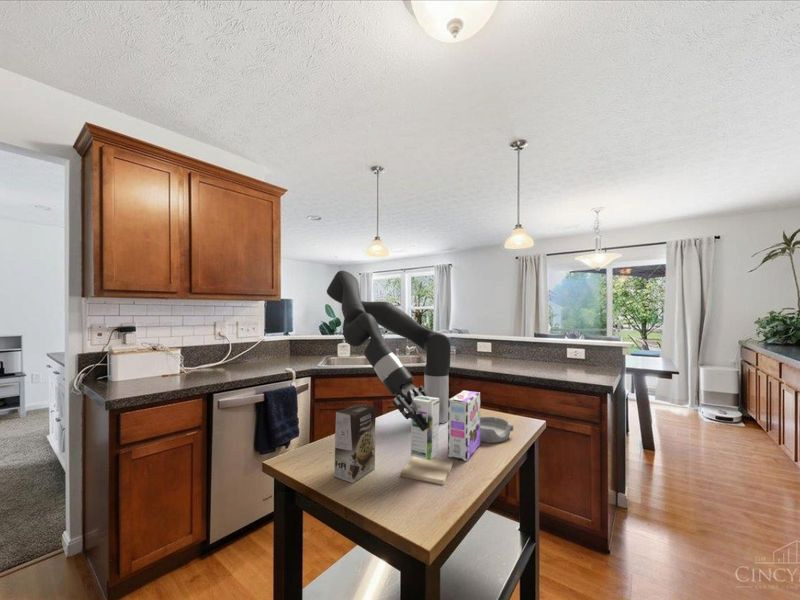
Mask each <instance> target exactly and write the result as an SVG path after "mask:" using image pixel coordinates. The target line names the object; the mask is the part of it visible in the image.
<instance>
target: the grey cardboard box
mask: <svg viewBox="0 0 800 600" xmlns="http://www.w3.org/2000/svg"><path fill="white" fill-rule="evenodd" d="M376 408H377V407H376V406H371V405H366V404H365V405H363V404H355V405H352V406H348V407H346V408H343V409H341V410H337V411H335V432H334V433H335V435H334V439H335V440H334V474H333V475H334V477H335V478H337V479H339V480H344V481H345V482H349V483H351V484H354V483H355V482H357V481H359V480H360V479H362V478H364V477H365V476H366V475H368V474H370V473H371V472H373V471H374V470H375V469H376V414H377V413H376Z"/></svg>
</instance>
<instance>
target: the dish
mask: <svg viewBox="0 0 800 600" xmlns="http://www.w3.org/2000/svg"><path fill="white" fill-rule="evenodd" d="M513 431H514V423H510V422H509V421H508V420H506V419H504V418H502V417H496V416H480V443H481V442H482V443H489V444H495V443H501V442H505V441H507V440H508V439H509V438H510V435H511V432H513Z"/></svg>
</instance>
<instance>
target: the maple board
mask: <svg viewBox="0 0 800 600" xmlns="http://www.w3.org/2000/svg"><path fill="white" fill-rule="evenodd" d="M453 466H454V461H453V460H447V459H440V458H435V457H433V458H432V459H431V460H427V459H423V458H419V457H415V456H411V458H410V460H409V461H408V462H407V463H406V465H405V466H404V467H403V469H402V470H401V471H400V477H401V478H407V479H411V480H416V481H422V482H428V483H433V484H437V485H438V484H439V485H442V486H443V485H445V483H446V481H447V479H448V477H449V474H450V472H451V470H452V468H453Z"/></svg>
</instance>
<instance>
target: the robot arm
mask: <svg viewBox="0 0 800 600" xmlns="http://www.w3.org/2000/svg"><path fill="white" fill-rule="evenodd" d="M359 285H360V284H359V281H358V279H357V277H356V276H355V275H353V274H352V273H351V272H349V271H346V270H338V271H337V272H336V274H334V276H333V279H332V280H331V282H330V283H329V285H328V287H327V289H326V294H327V295H328V296H329V297H330V298H331V299H332V300H334V301H335V302H338V303H339V304H340V305H341V313H342V316H343V324H342V325H343V326H342V335H343V337H344V338H343V339H344V340H345V341H346V344H348V345H350V346H351V347H355V348H357V347H360V346H362V345H363V344H364V343H365V342H366V341H368V340H369V339H370V340H369V343H368V344H367V346H366V348H365V349H364V353H363V355H364V356H365V359H366V360H367V362H369V363H370V365H371V367H372V368H373V369H374V372H375V373H376V375H377V377H378V378H379V379H380V381H381V382H382V384H383V385H384V386H385V388H386V389H387V391H388V392H389V393H390V395H391V396H395V398H393V400H391V402H392V404H393V406H395V407H396V409H397V410H398V411H399V413H400V414H401V415H402V416H403V417H404V418H405V419H406V420H409V419H413V420H414V421H415V422H416V424H417V425H418V426H419V428H420V429H421V430H422V431H424V430H426V429H427V428H428V427H429V425H428V423H427V422H426V420H425V419H424V418H423V416H422V415H421V414H419V411H418V409H417V407H416V403H415V402H414V400H413V399H414V398H415V397H417V396H427V397H433V398H439V424H444V423H448V400H449V399H450V398H449V392H450V391H449V381H450V380H449V372H450V367H451V350H452V348H451V347H452V346H451V341H450V339H449V337H448V336H446V335H445V334H443V333H440V332H437V331H434V330H432V329H430V328H428V327H425V326H423V325H421V324H420V323H418V322H417V321H416V320H414V319H413V317H411V316H410V315H409V314H408V313H406V312H405V311H403V310H402V309H400V307H398V306H395V305H394V304H392V303H390V302H387V301H363V300H361V299H362V298H361V295H360V286H359ZM379 326H381V327H382V328H384V329H386V330H388V331H390V332H391V333H393V334H395V335H398V336H400V337H402V338H405V339H407V340H409V341H411V342H412V343H413V344H415V345H416V346H418V347H420V348H421V349H422V350H423V351H425V352H426V358H425V359H426V361H425V362H426V363H425V366H424V369H423V370H424V375H423V377H424V386H423V385H420V386H419V387H417V386H415V385H414V384H413V381H414V376H413V375H412V374H411V373H410V371H409V369H408V368H407V367H406V366H405V364H404V363H403V362H402V361H401V360H400V358H399V357H398V356H397V355H396V354H395V353H394V352H393V350H392V349H391V348H390V347H389V345H388V344H387V342H386V341H385V339H384V337H383V334H382V332H381V328H380V327H379ZM412 409H413V410H414V411H413V410H412Z"/></svg>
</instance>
